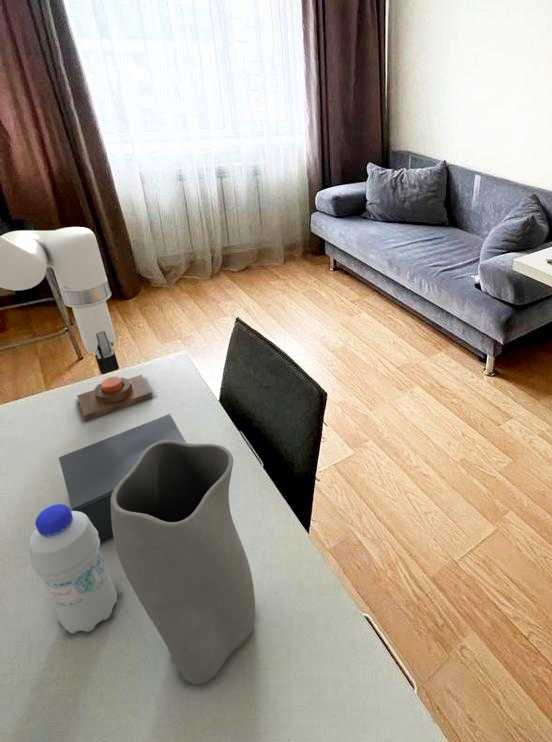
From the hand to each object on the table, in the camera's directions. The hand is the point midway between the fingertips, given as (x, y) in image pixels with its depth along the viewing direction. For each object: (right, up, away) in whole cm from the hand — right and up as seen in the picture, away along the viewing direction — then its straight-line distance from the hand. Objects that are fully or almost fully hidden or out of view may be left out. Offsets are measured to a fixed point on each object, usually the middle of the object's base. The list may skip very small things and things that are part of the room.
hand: (109, 370), depth 102 cm
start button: (-1, -4, +2) cm, 5 cm away
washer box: (+17, -19, -18) cm, 31 cm away
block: (-1, -7, +3) cm, 8 cm away
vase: (+39, -30, -37) cm, 62 cm away
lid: (+18, -11, -22) cm, 30 cm away
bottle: (+22, -27, -35) cm, 49 cm away
